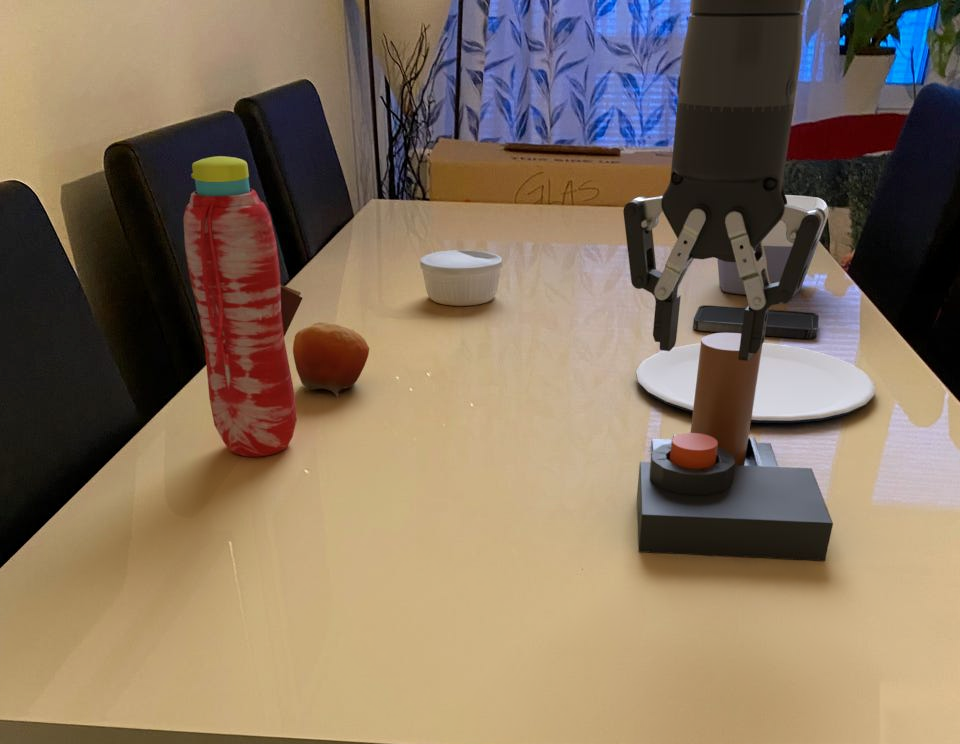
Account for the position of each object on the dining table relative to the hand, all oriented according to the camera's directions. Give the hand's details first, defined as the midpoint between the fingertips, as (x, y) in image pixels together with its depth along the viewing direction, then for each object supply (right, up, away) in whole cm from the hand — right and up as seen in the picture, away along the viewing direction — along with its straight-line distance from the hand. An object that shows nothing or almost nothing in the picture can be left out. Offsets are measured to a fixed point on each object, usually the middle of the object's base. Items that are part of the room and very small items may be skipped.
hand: (705, 351), depth 74 cm
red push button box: (+3, -12, +5) cm, 14 cm away
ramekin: (-19, +26, +64) cm, 72 cm away
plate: (+12, +6, +33) cm, 36 cm away
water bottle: (-38, -3, +21) cm, 43 cm away
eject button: (0, -7, +5) cm, 9 cm away
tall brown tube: (+4, -6, +14) cm, 16 cm away
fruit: (-33, +6, +34) cm, 48 cm away
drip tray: (+4, -6, +15) cm, 16 cm away
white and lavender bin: (+23, +29, +67) cm, 77 cm away
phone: (+18, +18, +51) cm, 57 cm away
